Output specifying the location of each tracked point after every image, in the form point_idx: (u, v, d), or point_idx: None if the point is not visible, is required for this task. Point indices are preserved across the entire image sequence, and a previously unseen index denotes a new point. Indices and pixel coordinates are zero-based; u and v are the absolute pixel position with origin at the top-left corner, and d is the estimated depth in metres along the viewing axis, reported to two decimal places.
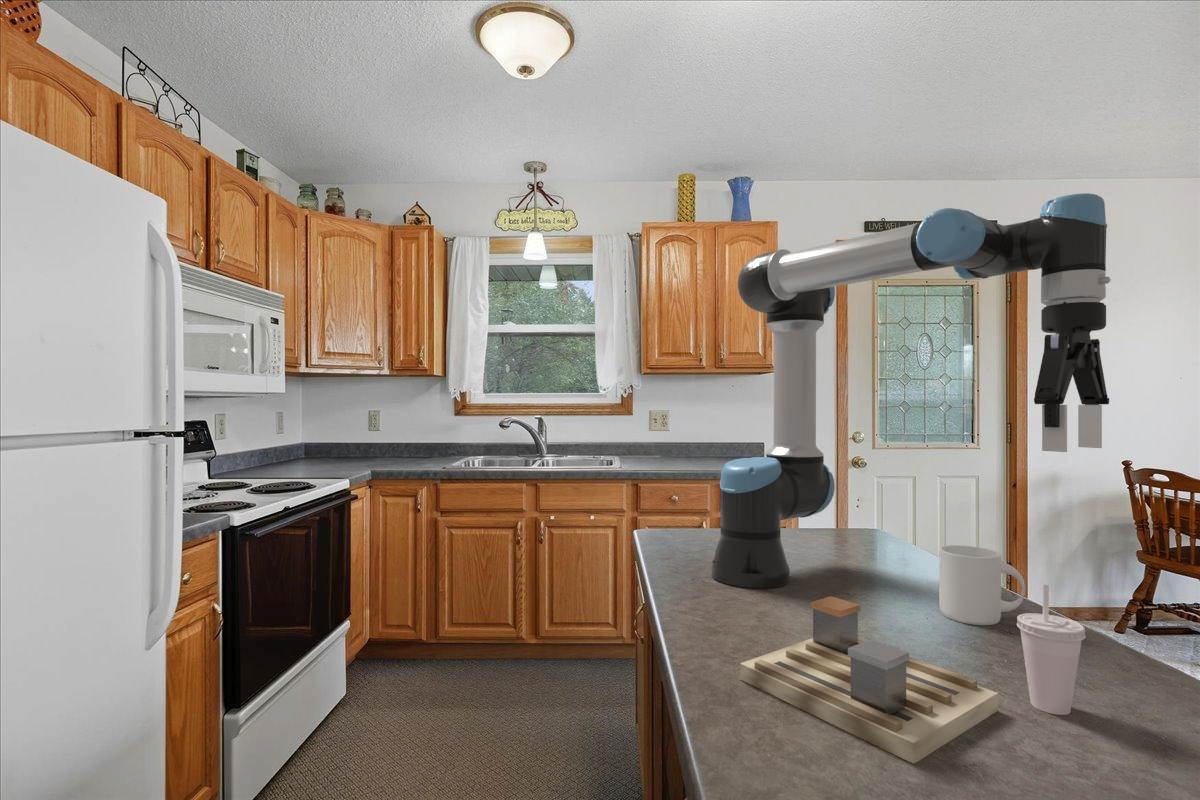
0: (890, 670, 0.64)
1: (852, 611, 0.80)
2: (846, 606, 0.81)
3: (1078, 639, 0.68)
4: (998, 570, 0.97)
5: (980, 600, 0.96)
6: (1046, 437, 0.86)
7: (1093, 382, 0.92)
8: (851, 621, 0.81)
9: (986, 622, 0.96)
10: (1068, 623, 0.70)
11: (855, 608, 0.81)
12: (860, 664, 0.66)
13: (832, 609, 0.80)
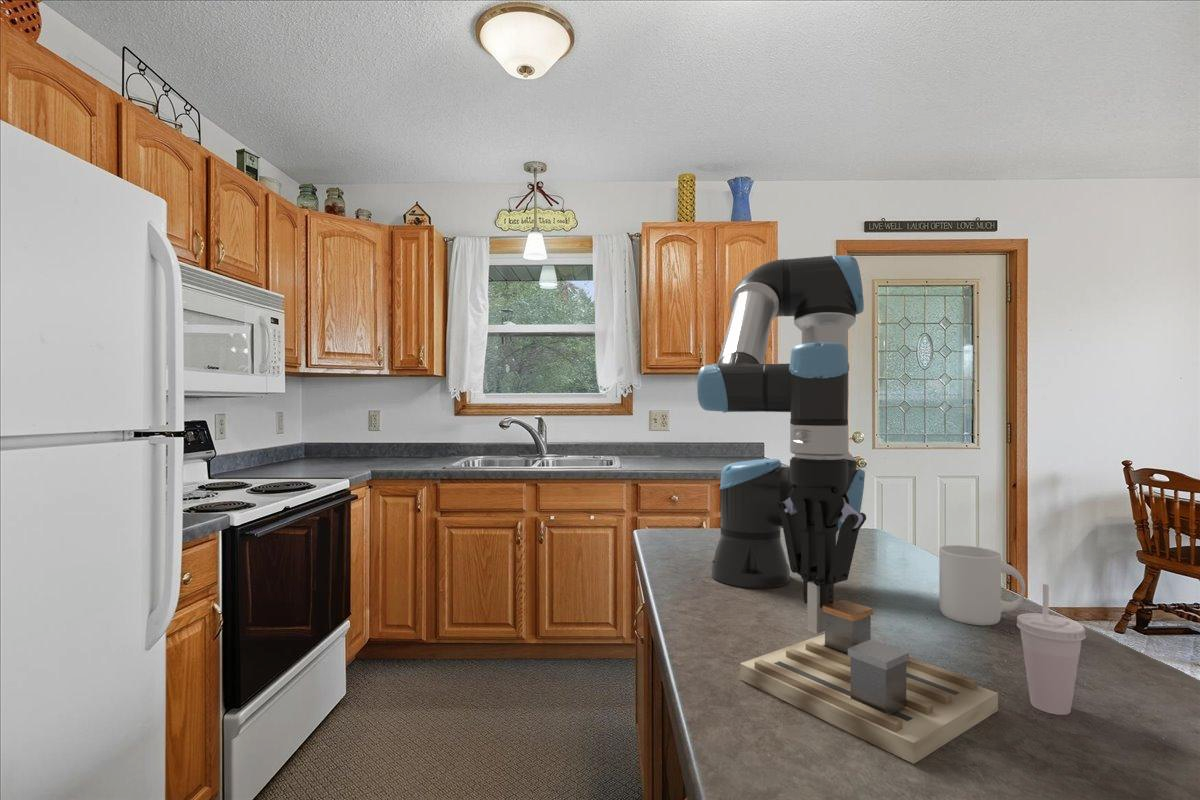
0: (890, 670, 0.64)
1: (865, 615, 0.79)
2: (859, 610, 0.79)
3: (1078, 639, 0.68)
4: (998, 570, 0.97)
5: (980, 600, 0.96)
6: None
7: None
8: (864, 625, 0.79)
9: (986, 622, 0.96)
10: (1068, 623, 0.70)
11: (868, 612, 0.79)
12: (860, 664, 0.66)
13: (845, 613, 0.78)
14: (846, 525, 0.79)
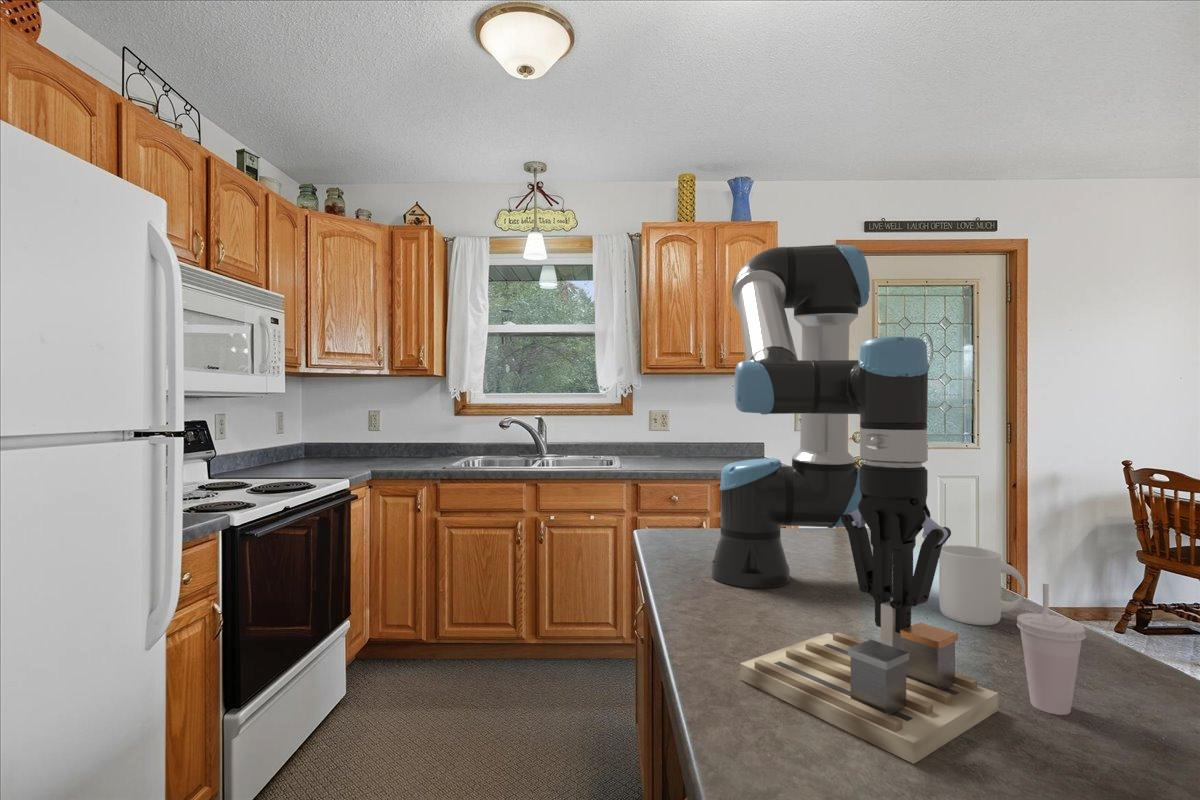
0: (890, 670, 0.64)
1: (950, 641, 0.70)
2: (943, 635, 0.71)
3: (1078, 639, 0.68)
4: (998, 570, 0.97)
5: (980, 600, 0.96)
6: None
7: (893, 567, 0.74)
8: (949, 652, 0.71)
9: (986, 622, 0.96)
10: (1068, 623, 0.70)
11: (953, 637, 0.71)
12: (860, 664, 0.66)
13: (928, 639, 0.70)
14: (929, 541, 0.71)
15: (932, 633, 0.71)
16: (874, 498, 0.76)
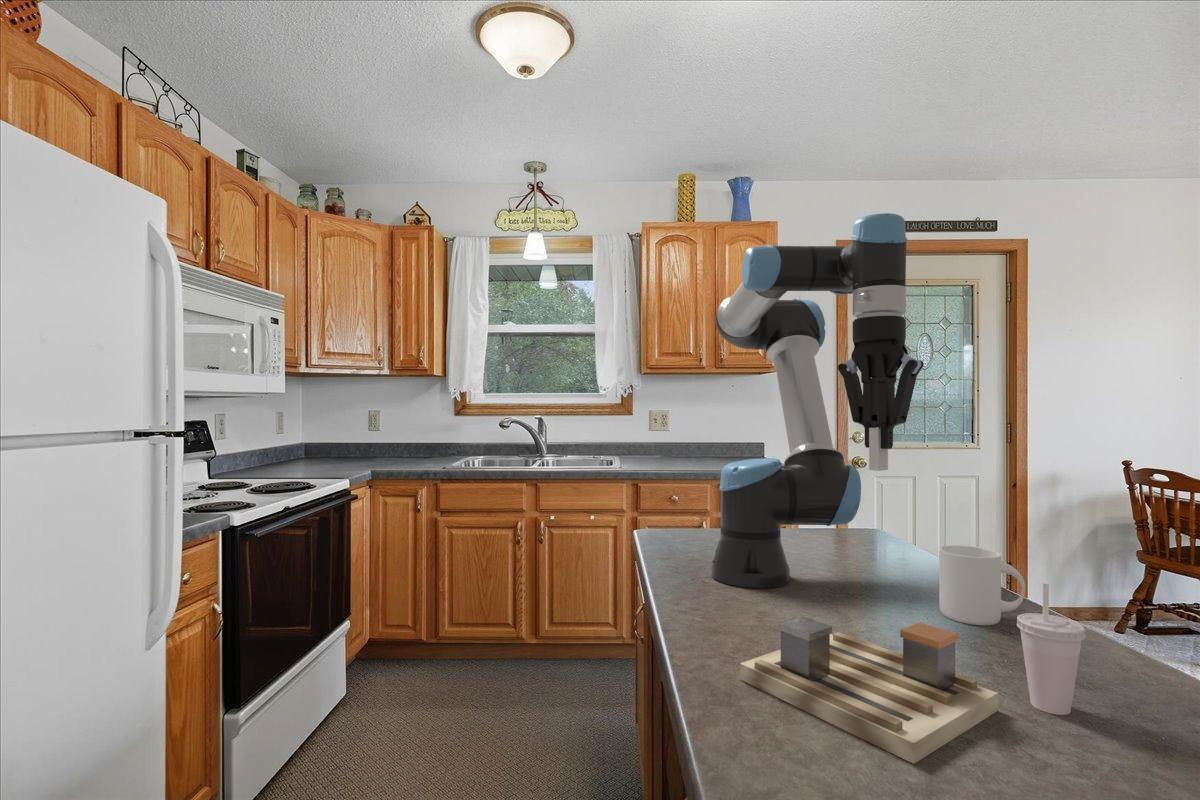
0: (813, 641, 0.72)
1: (950, 641, 0.70)
2: (943, 635, 0.71)
3: (1078, 639, 0.68)
4: (998, 570, 0.97)
5: (980, 600, 0.96)
6: None
7: (878, 397, 0.94)
8: (949, 653, 0.71)
9: (986, 622, 0.96)
10: (1068, 623, 0.70)
11: (953, 637, 0.71)
12: (788, 636, 0.74)
13: (928, 639, 0.70)
14: (906, 370, 0.90)
15: (932, 633, 0.71)
16: (864, 346, 0.96)
